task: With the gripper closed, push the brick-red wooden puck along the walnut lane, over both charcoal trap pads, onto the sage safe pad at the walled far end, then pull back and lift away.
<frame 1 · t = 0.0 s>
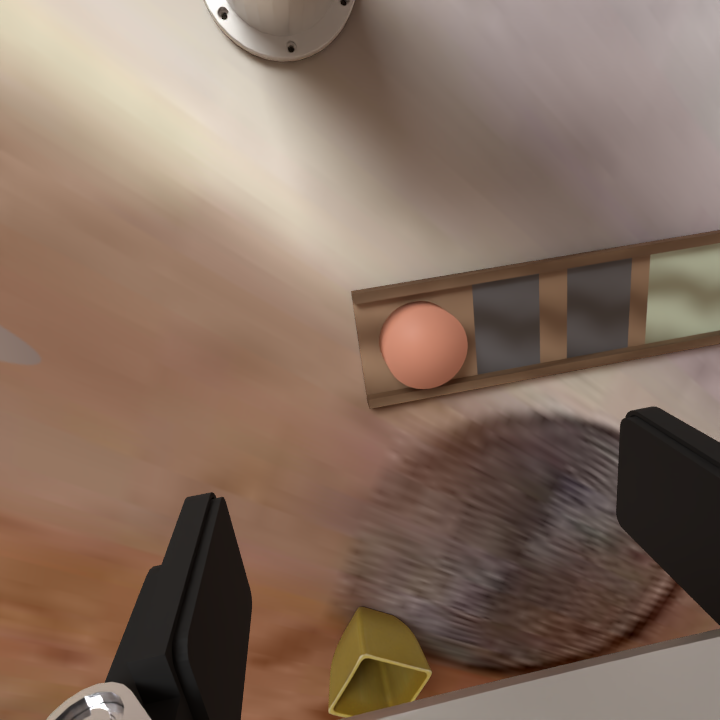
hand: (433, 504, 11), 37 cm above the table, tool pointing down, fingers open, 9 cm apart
puck: (417, 339, 49), resting on trap lane
trap lane: (565, 313, 50), on the table
flower pot: (368, 622, 60), on the table
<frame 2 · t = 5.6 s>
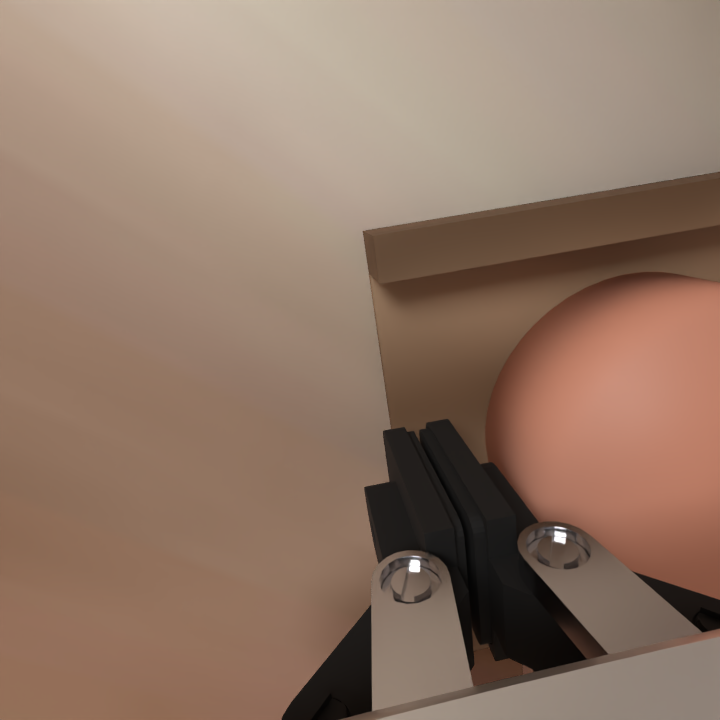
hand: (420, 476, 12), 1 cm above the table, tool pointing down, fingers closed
puck: (622, 414, 13), resting on trap lane, touching gripper
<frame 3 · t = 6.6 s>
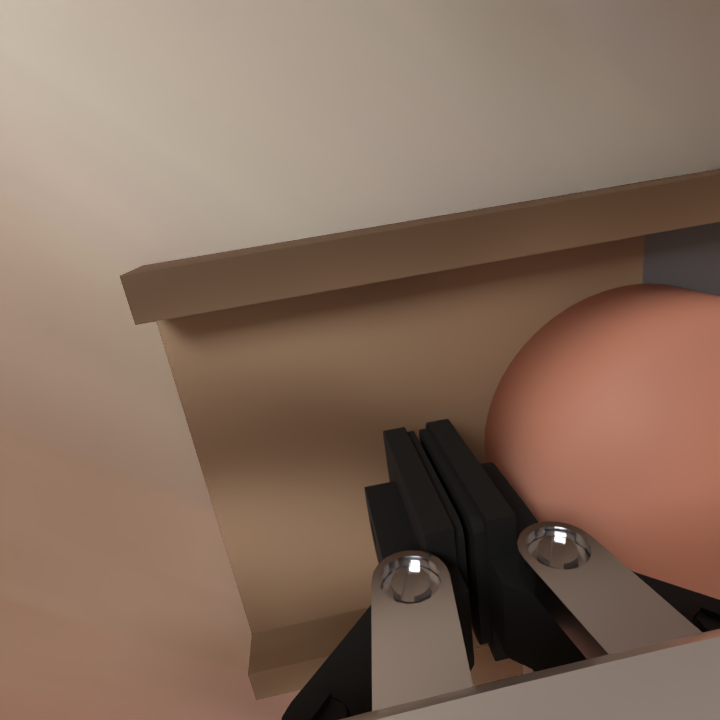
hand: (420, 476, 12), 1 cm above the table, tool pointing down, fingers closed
puck: (619, 423, 14), resting on trap lane, touching gripper
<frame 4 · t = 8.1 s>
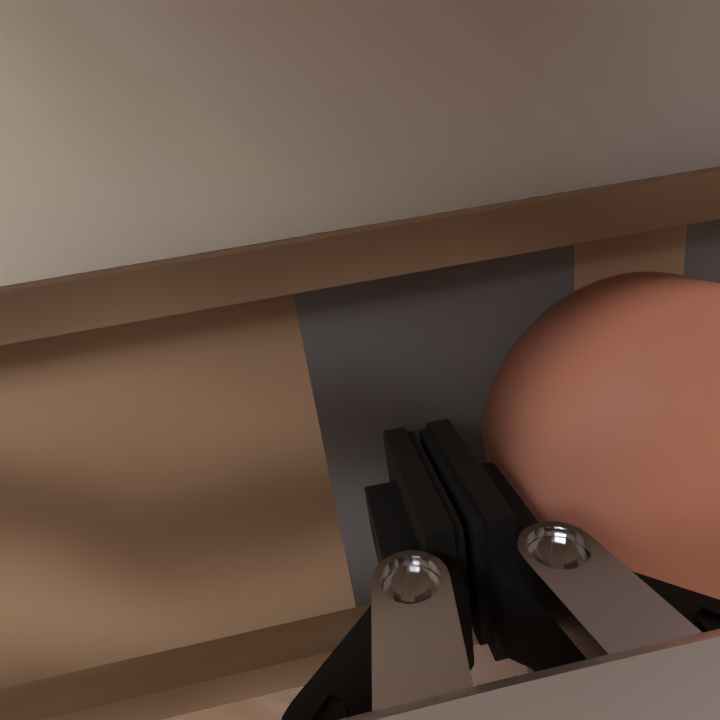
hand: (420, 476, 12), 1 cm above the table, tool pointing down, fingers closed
puck: (618, 413, 14), resting on trap lane
trap lane: (668, 393, 14), on the table
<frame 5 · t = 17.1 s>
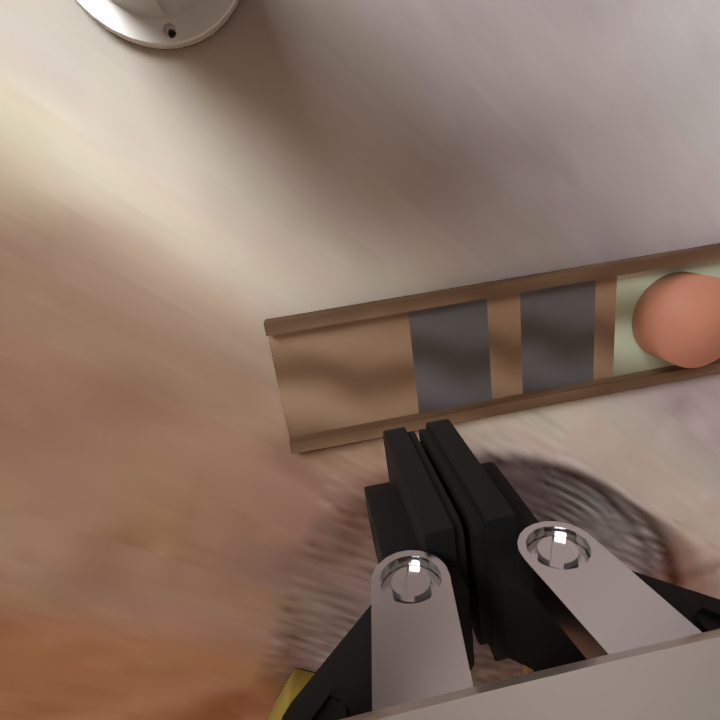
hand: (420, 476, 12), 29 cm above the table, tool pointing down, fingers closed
puck: (672, 314, 44), resting on trap lane
trap lane: (520, 342, 43), on the table
flower pot: (306, 685, 54), on the table
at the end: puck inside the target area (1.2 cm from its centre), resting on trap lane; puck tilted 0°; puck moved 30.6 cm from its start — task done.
